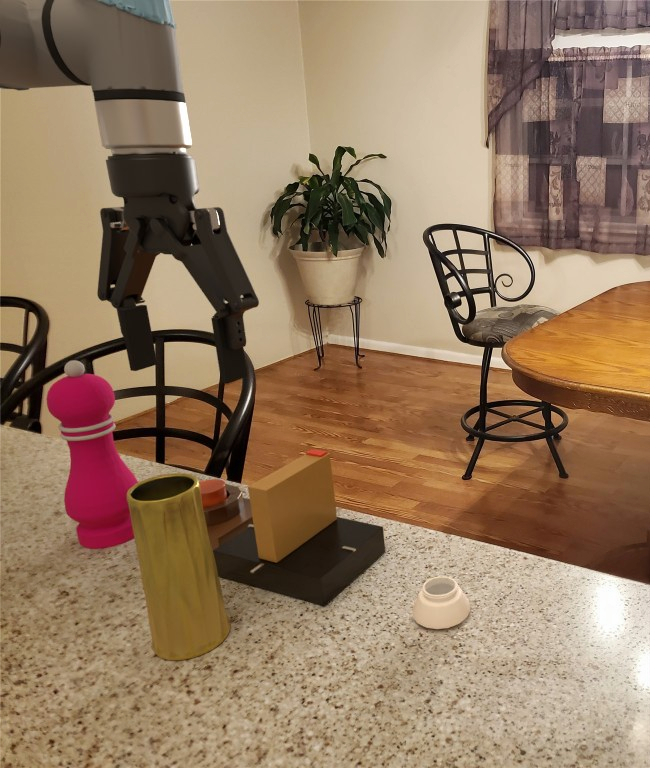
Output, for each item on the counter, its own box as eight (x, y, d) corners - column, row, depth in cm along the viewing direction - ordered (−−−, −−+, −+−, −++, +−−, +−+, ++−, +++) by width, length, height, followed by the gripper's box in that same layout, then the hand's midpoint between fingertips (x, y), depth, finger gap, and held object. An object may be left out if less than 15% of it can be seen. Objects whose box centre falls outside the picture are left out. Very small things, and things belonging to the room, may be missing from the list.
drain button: (184, 505, 74) (181, 490, 74) (210, 491, 78) (208, 476, 77) (209, 510, 73) (206, 495, 72) (234, 496, 76) (232, 481, 76)
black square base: (313, 617, 61) (309, 587, 60) (203, 586, 66) (198, 557, 65) (394, 544, 72) (392, 518, 71) (295, 522, 78) (292, 497, 77)
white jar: (427, 640, 58) (479, 619, 60) (425, 610, 57) (478, 591, 59) (404, 609, 62) (454, 591, 64) (402, 581, 61) (452, 564, 63)
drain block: (152, 538, 75) (145, 505, 74) (209, 506, 82) (204, 475, 81) (221, 556, 71) (215, 522, 70) (275, 521, 78) (270, 489, 77)
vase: (181, 672, 55) (148, 512, 50) (137, 646, 58) (103, 493, 53) (245, 629, 60) (220, 480, 55) (202, 607, 63) (175, 464, 58)
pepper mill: (58, 544, 74) (13, 367, 68) (117, 514, 80) (80, 349, 74) (106, 557, 71) (63, 373, 65) (163, 524, 78) (128, 354, 72)
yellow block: (276, 563, 64) (265, 488, 62) (258, 558, 65) (247, 484, 62) (337, 519, 72) (329, 450, 69) (320, 515, 73) (312, 447, 70)
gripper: (279, 149, 63) (305, 374, 69) (98, 155, 72) (136, 354, 79) (216, 148, 56) (251, 397, 63) (26, 155, 66) (74, 371, 72)
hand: (187, 373), depth 71 cm, fingers open, 12 cm apart
